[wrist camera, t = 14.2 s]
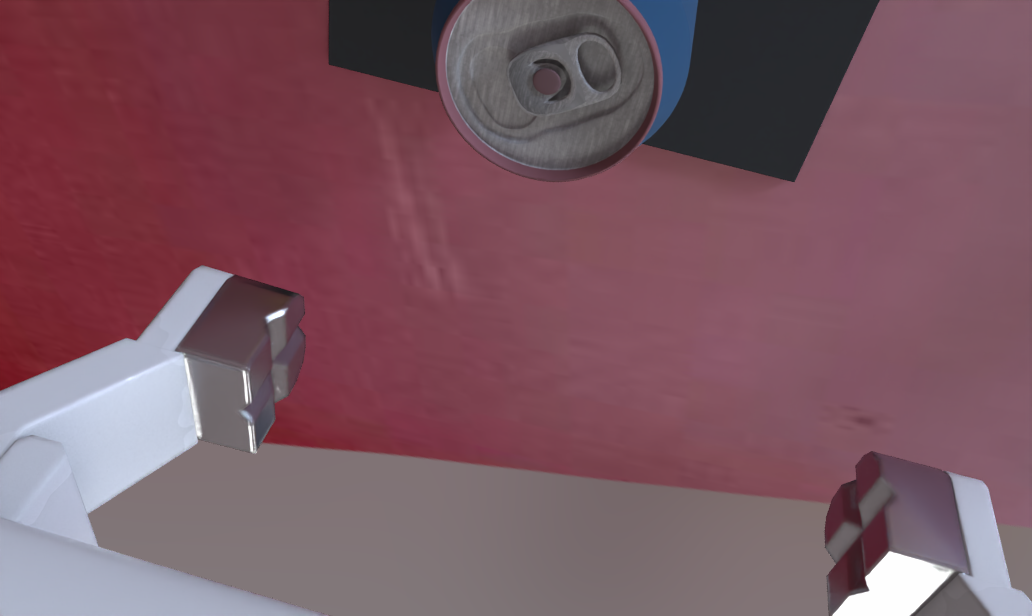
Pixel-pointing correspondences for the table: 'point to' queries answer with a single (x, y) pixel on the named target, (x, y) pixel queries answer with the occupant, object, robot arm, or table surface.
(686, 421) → the table surface
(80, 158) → the table surface
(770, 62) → the mat
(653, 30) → the soda can
